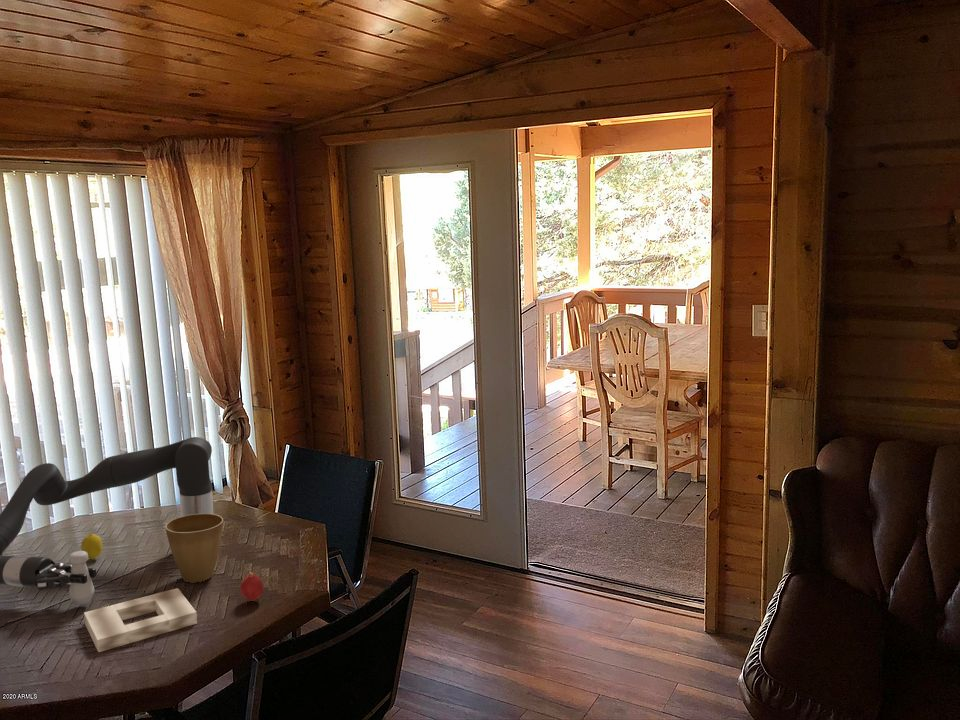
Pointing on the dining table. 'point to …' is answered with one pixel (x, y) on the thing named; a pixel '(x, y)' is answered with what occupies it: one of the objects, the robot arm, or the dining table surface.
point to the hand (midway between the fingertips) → (90, 575)
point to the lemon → (92, 546)
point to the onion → (252, 587)
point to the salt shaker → (77, 590)
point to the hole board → (114, 633)
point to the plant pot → (195, 544)
